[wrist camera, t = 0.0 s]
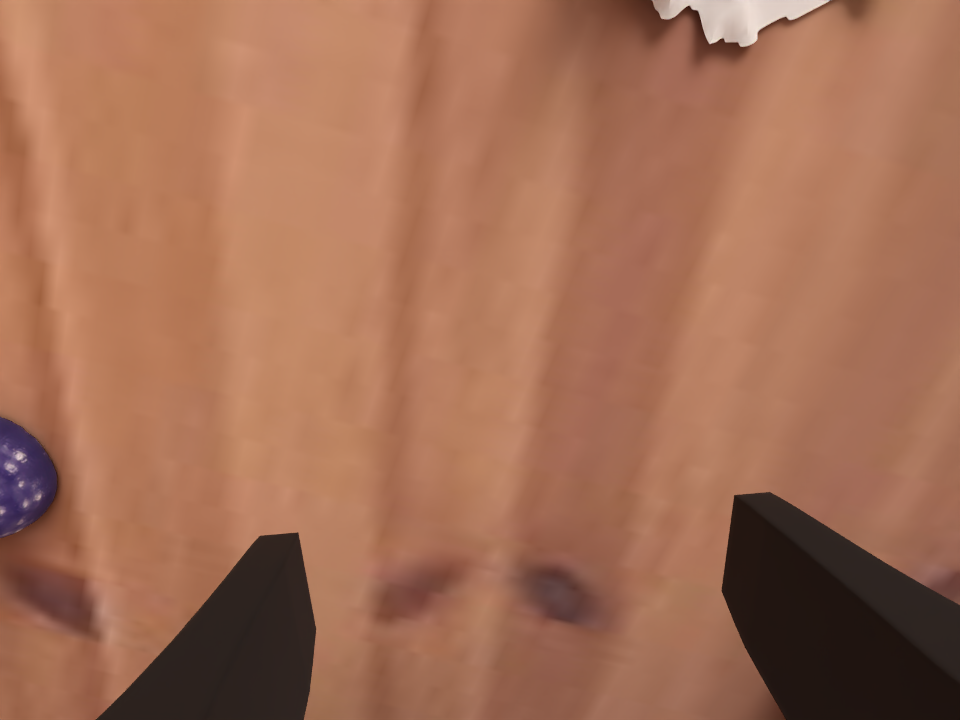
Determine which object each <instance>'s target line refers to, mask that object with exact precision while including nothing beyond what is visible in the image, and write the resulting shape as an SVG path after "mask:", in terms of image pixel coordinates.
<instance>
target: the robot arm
mask: <svg viewBox="0 0 960 720" xmlns="http://www.w3.org/2000/svg"><path fill="white" fill-rule="evenodd" d="M722 593H723V595H724V598H725V600H726V603H727V605H728V608H729V610H730V613H731V615H732V618H733V620H734V623H735V625H736V628H737V630H738V632H739V634H740V637H741V639H742V641H743V644H744V646H745V648H746V650H747V652H748V654H749V655H750V657H751V659H752V661H753V663H754V664H755V666H756V668H757V670H758V671H759V673H760V675H761V677H762V678H763V680H764V682H765V684H766V685H767V687H768V689H769V691H770V693H771V694H772V696H773V698H774V699H775V701H776V703H777V705H778V706H779V708H780V710H781V712H782V713H783V715H784V717H785V718H786V720H960V605H958V604H956V603H955V602H953V601H951V600H949V599H947V598H946V597H944V596H942V595H940V594H938V593H937V592H935V591H933V590H931V589H929V588H927V587H926V586H924V585H922V584H920V583H919V582H917V581H915V580H914V579H912V578H910V577H908V576H907V575H905V574H903V573H902V572H900V571H898V570H897V569H895V568H893V567H892V566H890V565H888V564H887V563H885V562H883V561H882V560H880V559H878V558H877V557H875V556H873V555H872V554H870V553H868V552H867V551H865V550H864V549H862V548H860V547H859V546H857V545H856V544H854V543H852V542H851V541H849V540H848V539H846V538H844V537H843V536H841V535H840V534H838V533H836V532H835V531H833V530H832V529H830V528H828V527H827V526H825V525H824V524H822V523H821V522H819V521H817V520H816V519H814V518H813V517H811V516H809V515H808V514H806V513H805V512H803V511H801V510H800V509H798V508H796V507H795V506H793V505H792V504H790V503H788V502H786V501H785V500H783V499H781V498H780V497H778V496H776V495H774V494H772V493H770V492H766V493H755V494H743V495H734V502H733V509H732V517H731V524H730V532H729V539H728V547H727V554H726V562H725V569H724V577H723V584H722ZM315 635H316V626H315V621H314V615H313V610H312V604H311V599H310V594H309V588H308V583H307V577H306V572H305V567H304V561H303V556H302V550H301V545H300V540H299V534H298V533H288V534H277V535H265V536H259V537H258V539H257V540H256V541H255V542H254V543H253V544H252V545H251V547H250V548H249V549H248V550H247V551H246V553H245V554H244V555H243V556H242V558H241V559H240V560H239V561H238V563H237V564H236V565H235V566H234V568H233V569H232V570H231V571H230V573H229V574H228V575H227V576H226V578H225V579H224V580H223V581H222V583H221V584H220V585H219V586H218V587H217V589H216V590H215V591H214V592H213V594H212V595H211V596H210V597H209V598H208V600H207V601H206V602H205V603H204V604H203V606H202V607H201V608H200V609H199V610H198V611H197V613H196V614H195V615H194V616H193V617H192V618H191V620H190V621H189V622H188V623H187V624H186V625H185V627H184V628H183V629H182V630H181V631H180V632H179V634H178V635H177V636H176V637H175V638H174V639H173V640H172V642H171V643H170V644H169V645H168V646H167V647H166V648H165V649H164V650H163V651H162V652H161V654H160V655H159V656H158V657H157V658H156V659H155V660H154V661H153V662H152V663H151V664H150V665H149V666H148V667H147V668H146V670H145V671H144V672H143V673H142V674H141V675H140V676H139V677H138V678H137V679H136V680H135V681H134V682H133V683H132V685H131V686H130V687H129V688H128V689H127V690H126V691H125V692H124V693H123V694H122V695H121V696H120V697H119V698H118V699H117V700H116V701H115V702H114V703H113V704H112V705H111V706H110V707H109V708H108V709H107V710H106V711H105V712H104V713H103V714H101V715H100V716H99V717H98V718H97V719H96V720H304V715H305V711H306V706H307V701H308V696H309V692H310V683H311V674H312V666H313V656H314V645H315Z"/></svg>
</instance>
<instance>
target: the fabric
mask: <svg viewBox="0 0 960 720" xmlns="http://www.w3.org/2000/svg"><path fill="white" fill-rule="evenodd" d="M651 1H653V4H654V8H655V9H656V10H657V11H658V12H659V14H660V17H661V19H671V18H673V17H675V16H676V15H678V14H679V13H680V12H681V11H682V10H683V9H684V8H686V7H687V6H690V7H691V9H692V10H698V12H699V14H700V18H701V22H702V27H703V30H704V33H705V36H706V39H707V41H708V43H709V44H712V43H716V42H717V41H718V40H719V39H722V38H724V40H725V42H738V43H739V45H740V47H744V46H749V45H751V44H753V43H755V41H756V40H757V33H758V31H759V30H760V29H761V28H763V27H765V26H767V25H769V24H771V23H772V22H774V21H776V20H778V19H780V18H783V17H787V18H788V20H793V19H797V18H799V17H800V16H802V15H804V14H806V13H808V12H810V11H812V10H814V9H815V8H817V7H819V6H821V5H823V4H825V3H827V2H829V1H830V0H651Z"/></svg>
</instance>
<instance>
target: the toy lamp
mask: <svg viewBox="0 0 960 720" xmlns="http://www.w3.org/2000/svg"><path fill="white" fill-rule="evenodd" d="M56 490H57V473H56V471H55V469H54V465H53V463H52V461H51V460H50V458H49V456H48V454H47V453H46V452H45V450H44V449H43V447H42V446H41V445H40V443H39V442H38V441H37V439H36V438H34V437H33V436H31V435H30V434H29V433H27V432H26V431H25V430H24V429H23V428H22V427H21V426H19V425H17V424H15V423H13V422H12V421H9V420H7V419H4V418H1V417H0V538H2V537H5V536H8V535H11V534H14V533H16V532H18V531H20V530H22V529H24V528H25V527H27V526H29V525H30V524H32V523H33V522H35V521H36V520H37V519H38V518H40V517H41V516H42V515H43V514H44V513H45V512H46V510H47V509H48V507H49V506H50V504H51V503H52V502H53V500H54V497H55V494H56Z"/></svg>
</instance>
